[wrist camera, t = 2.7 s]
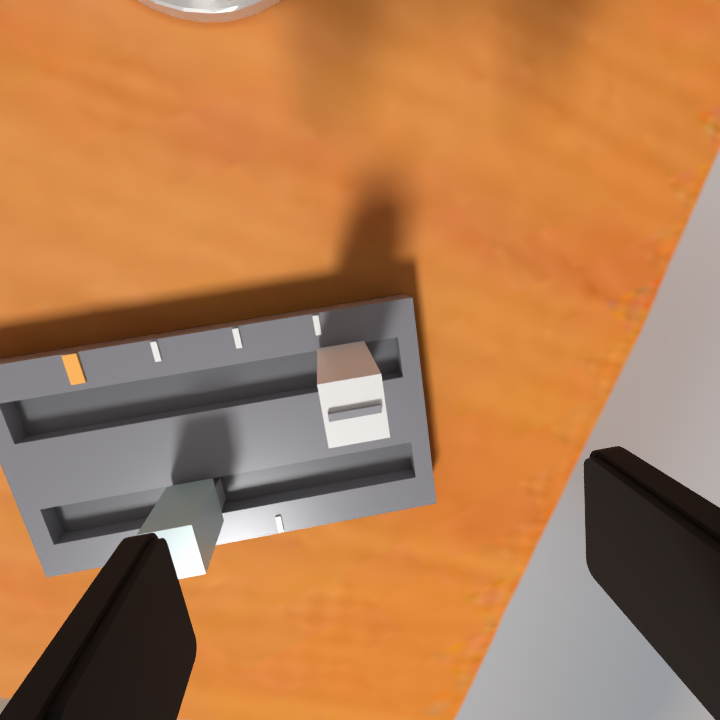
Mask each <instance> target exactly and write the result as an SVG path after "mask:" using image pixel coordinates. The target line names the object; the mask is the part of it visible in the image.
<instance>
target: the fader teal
mask: <svg viewBox="0 0 720 720" xmlns="http://www.w3.org/2000/svg"><path fill="white" fill-rule="evenodd" d="M225 500H226V497H225V493H224V489H223V485H222V482H221V478H220V477H217V478H211V479H206V480H200V481H195V482H189V483H184V484H178V485H173V486H168V487H166V489H165V490H164V492H163V494H162V495H161V497H160V498H159V500H158V502H157V503H156V505H155V506H154V508H153V509H152V511H151V513H150V514H149V516H148V517H147V519H146V521H145V522H144V524H143V525H142V527H141V528H140V530H139V532H138V533H137V535H142V534H148V533H155V534H156V535H157V536H158V538H164V539H165V540H166V541H167V544H168V547H169V550H170V554H171V557H172V560H173V564H174V567H175V570H176V574H177V577H178V579H181V578H187V577H192V576H197V575H202V574H206V572H207V569H208V566H209V563H210V560H211V557H212V554H213V551H214V548H215V545H216V542H217V540H218V537H219V534H220V531H221V528H222V525H223V522H224V519H223V515H222V508H223V505H224V503H225ZM137 535H136V536H137Z"/></svg>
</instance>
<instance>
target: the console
mask: <svg viewBox="0 0 720 720" xmlns="http://www.w3.org/2000/svg"><path fill="white" fill-rule="evenodd" d="M359 341H364V342H365V344H366V346H367V347H368V349H369V351H370V353H371V355H372V357H373V359H374V361H375V363H376V365H377V367H378V368H379V370H380V372H381V376H382V383H383V390H384V397H385V404H386V411H387V418H388V425H389V432H390V438H384V439H379V440H373V441H368V442H362V443H357V444H351V445H346V446H340V447H334V448H329V447H328V442H327V436H326V431H325V425H324V420H323V414H322V409H321V403H320V398H319V393H318V387H317V348H323V347H329V346H335V345H341V344H347V343H353V342H359ZM0 464H1V467H2V469H3V471H4V474H5V476H6V479H7V481H8V484H9V486H10V489H11V491H12V494H13V496H14V499H15V501H16V503H17V506H18V508H19V511H20V513H21V516H22V518H23V521H24V523H25V526H26V528H27V531H28V533H29V535H30V538H31V540H32V543H33V545H34V548H35V550H36V553H37V555H38V558H39V560H40V563H41V565H42V567H43V570H44V572H45V575H46V577H52V576H57V575H62V574H67V573H73V572H78V571H83V570H88V569H94V568H99V567H104V565H105V564H106V562H107V561H108V559H109V558H110V557H111V555H112V554H113V552H114V551H115V549H116V548H117V547H118V545H119V544H120V542H121V541H122V540H123V539H124V538H127V537H131V536H136V535H137V533H138V532H139V530H140V528H141V527H142V525H143V524H144V522H145V521H146V519H147V517H148V516H149V514H150V513H151V511H152V509H153V508H154V506H155V505H156V503H157V502H158V500H159V498H160V497H161V495H162V494H163V492H164V490H165V489H166V487H168V486H173V485H178V484H184V483H189V482H195V481H200V480H206V479H211V478H217V477H220V478H221V482H222V485H223V489H224V493H225V497H226V500H225V503H224V505H223V508H222V515H223V519H224V522H223V525H222V528H221V531H220V534H219V537H218V540H217V542H216V545H220V544H225V543H230V542H236V541H241V540H246V539H251V538H257V537H262V536H267V535H272V534H278V533H283V532H288V531H293V530H299V529H304V528H309V527H314V526H320V525H325V524H330V523H335V522H341V521H346V520H351V519H356V518H362V517H367V516H372V515H377V514H383V513H388V512H393V511H398V510H404V509H409V508H414V507H419V506H425V505H430V504H435V503H436V495H435V487H434V478H433V470H432V461H431V452H430V444H429V435H428V426H427V418H426V409H425V400H424V392H423V383H422V374H421V366H420V357H419V348H418V340H417V331H416V322H415V314H414V305H413V298H412V297H410V296H408V295H406V294H400V295H394V296H388V297H382V298H375V299H369V300H363V301H357V302H350V303H344V304H338V305H332V306H326V307H319V308H313V309H307V310H301V311H295V312H288V313H282V314H276V315H270V316H264V317H257V318H251V319H245V320H239V321H233V322H226V323H220V324H214V325H208V326H201V327H195V328H189V329H183V330H177V331H170V332H164V333H158V334H152V335H146V336H139V337H133V338H127V339H121V340H115V341H108V342H102V343H96V344H90V345H84V346H77V347H71V348H65V349H59V350H52V351H46V352H40V353H34V354H28V355H21V356H15V357H9V358H3V359H0Z"/></svg>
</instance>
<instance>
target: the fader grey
mask: <svg viewBox="0 0 720 720" xmlns="http://www.w3.org/2000/svg"><path fill="white" fill-rule="evenodd" d="M317 387H318V393H319V398H320V403H321V409H322V414H323V420H324V425H325V431H326V436H327V442H328V447H329V448H334V447H340V446H346V445H351V444H357V443H362V442H368V441H373V440H379V439H384V438H390V432H389V425H388V418H387V411H386V404H385V397H384V390H383V383H382V376H381V372H380V370H379V368H378V367H377V365H376V363H375V361H374V359H373V357H372V355H371V353H370V351H369V349H368V347H367V346H366V344H365V342H364V341H359V342H353V343H347V344H341V345H335V346H329V347H323V348H317Z"/></svg>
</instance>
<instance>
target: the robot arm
mask: <svg viewBox="0 0 720 720" xmlns="http://www.w3.org/2000/svg"><path fill="white" fill-rule="evenodd" d="M137 1H139V2H141V3H142V4H144V5H145V6H147V7H149V8H152V9H154V10H157V11H159V12H162V13H164V14H167V15H170V16H172V17H175V18H180V19H185V20H191V21H197V22H202V23H205V22H230V21H234V20H238V19H241V18H245V17H249V16H253V15H256V14H258V13H259V12H261V11H263V10H265V9H267V8H269V7H271V6H273V5H275V4H277V3H278V2H280V1H281V0H137ZM584 489H585V490H584V491H585V529H586V560H587V565H588V568H589V571H590V573H591V575H592V576H593V578H594V579H595V580H596V581H597V582H598V584H599V585H600V586H601V587H602V588H603V589H604V591H605V592H606V593H607V594H608V595H609V596H610V598H611V599H612V600H613V601H614V602H615V603H616V604H617V606H618V607H619V608H620V609H621V610H622V611H623V613H624V614H625V615H626V616H627V617H628V618H629V620H630V621H631V622H632V623H633V624H634V626H636V628H637V629H638V630H639V631H640V632H641V633H642V635H643V636H644V637H645V638H646V639H647V640H648V642H649V643H650V644H651V645H652V646H653V647H654V649H655V650H656V651H657V652H658V653H659V655H660V656H661V657H662V658H663V659H664V660H665V662H666V663H667V664H668V665H669V666H670V667H671V669H672V670H673V671H674V672H675V673H676V674H677V676H678V677H679V678H680V679H681V680H682V681H683V682H684V684H685V685H686V686H687V687H688V688H689V689H690V690H691V692H692V693H693V694H694V695H695V696H696V698H697V699H698V700H699V701H700V702H701V703H702V705H703V706H704V707H705V708H706V709H707V710H708V712H709V713H710V714H711V715H712V716H713V717H714V719H715V720H720V508H719V507H717V506H716V505H714V504H713V503H711V502H709V501H708V500H706V499H705V498H703V497H701V496H700V495H698V494H697V493H695V492H693V491H691V490H690V489H689V488H687V487H685V486H684V485H682V484H681V483H679V482H677V481H676V480H674V479H672V478H671V477H669V476H668V475H666V474H664V473H663V472H661V471H660V470H658V469H656V468H655V467H653V466H651V465H650V464H648V463H647V462H645V461H644V460H642V459H640V458H639V457H637V456H636V455H634V454H632V453H631V452H629V451H627V450H626V449H624V448H622V447H620V446H617V447H611V448H605V449H600V450H595V451H593V452H591V454H590V458H588V459H586V460H585V462H584ZM195 657H196V638H195V634H194V631H193V628H192V624H191V621H190V617H189V614H188V611H187V607H186V604H185V601H184V597H183V594H182V591H181V587H180V584H179V581H178V577H177V574H176V570H175V567H174V564H173V560H172V557H171V554H170V550H169V547H168V544H167V541H166V540H165V539H164V538H158V536H157V535H156V534H155V533H148V534H142V535H137V536H131V537H127V538H124V539H123V540H122V541H121V542H120V544H119V545H118V547H117V548H116V549H115V551H114V552H113V554H112V555H111V557H110V558H109V559H108V561H107V562H106V564H105V565H104V567H103V568H102V569H101V571H100V572H99V574H98V575H97V577H96V578H95V580H94V581H93V582H92V584H91V585H90V587H89V588H88V590H87V591H86V592H85V594H84V595H83V597H82V598H81V600H80V601H79V602H78V604H77V605H76V607H75V608H74V610H73V611H72V612H71V614H70V615H69V617H68V618H67V620H66V621H65V622H64V624H63V625H62V627H61V628H60V630H59V631H58V632H57V634H56V635H55V637H54V638H53V640H52V641H51V642H50V644H49V645H48V647H47V648H46V650H45V651H44V653H43V654H42V655H41V657H40V658H39V660H38V661H37V663H36V664H35V665H34V667H33V668H32V670H31V671H30V673H29V674H28V675H27V677H26V678H25V680H24V681H23V683H22V684H21V685H20V687H19V688H18V690H17V691H16V693H15V694H14V695H13V697H12V698H11V700H10V701H9V703H8V704H7V705H6V707H5V708H4V710H3V711H2V713H1V714H0V720H176V719H177V716H178V713H179V710H180V706H181V703H182V700H183V697H184V694H185V690H186V687H187V684H188V681H189V677H190V674H191V671H192V668H193V664H194V661H195Z"/></svg>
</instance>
